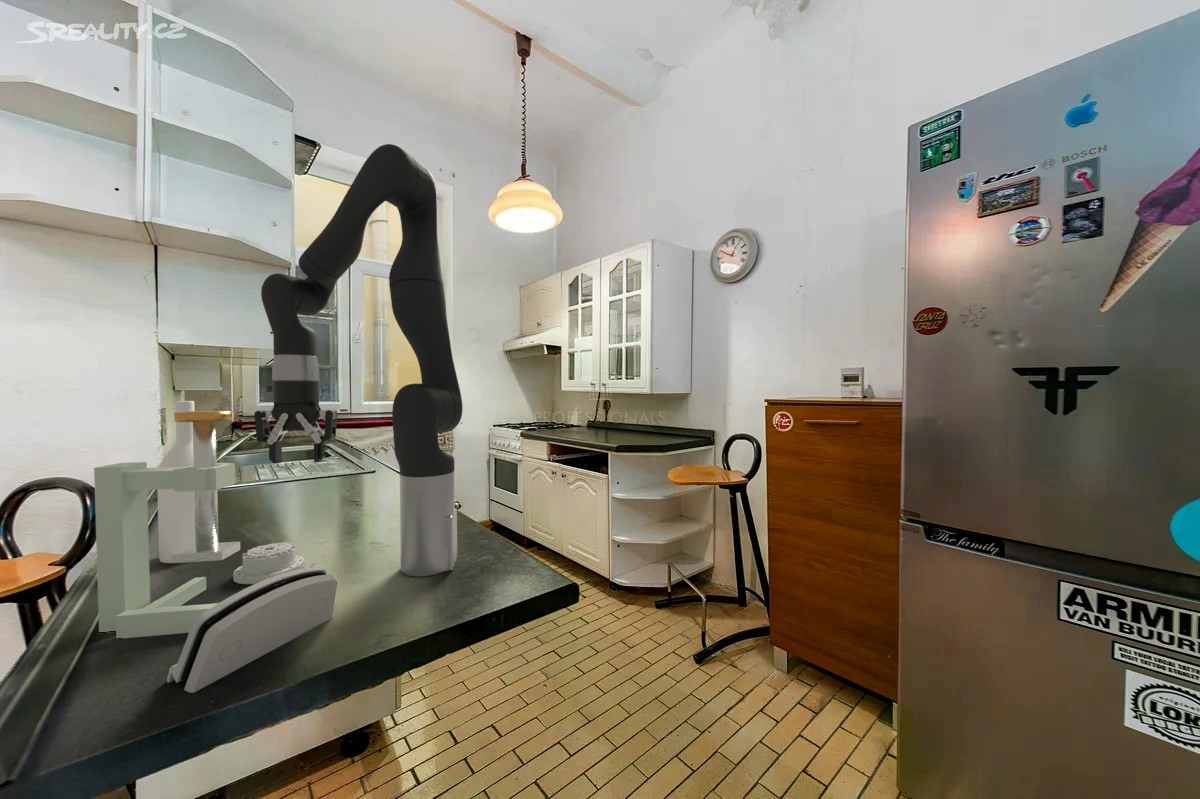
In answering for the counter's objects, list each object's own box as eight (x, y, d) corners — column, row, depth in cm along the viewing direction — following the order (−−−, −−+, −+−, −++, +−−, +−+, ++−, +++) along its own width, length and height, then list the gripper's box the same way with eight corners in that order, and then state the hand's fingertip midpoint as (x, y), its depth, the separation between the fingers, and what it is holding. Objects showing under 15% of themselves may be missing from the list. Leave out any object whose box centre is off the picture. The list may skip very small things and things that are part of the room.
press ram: (244, 547, 65) (241, 410, 65) (217, 562, 59) (213, 412, 59) (198, 549, 64) (195, 410, 64) (165, 566, 58) (161, 413, 58)
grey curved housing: (308, 610, 64) (324, 549, 62) (331, 627, 62) (348, 565, 61) (162, 683, 48) (178, 604, 47) (187, 707, 47) (205, 626, 45)
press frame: (305, 582, 73) (303, 451, 73) (255, 626, 59) (252, 465, 59) (170, 591, 70) (166, 454, 69) (84, 641, 56) (79, 470, 55)
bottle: (147, 561, 82) (143, 401, 81) (195, 546, 90) (192, 400, 89) (180, 565, 80) (176, 401, 79) (227, 549, 88) (223, 400, 87)
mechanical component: (217, 583, 73) (266, 588, 71) (217, 557, 73) (266, 562, 71) (273, 560, 83) (317, 564, 81) (272, 537, 83) (317, 541, 81)
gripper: (343, 379, 92) (344, 458, 92) (266, 379, 89) (267, 460, 89) (327, 378, 84) (329, 464, 85) (243, 378, 82) (245, 467, 82)
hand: (297, 462), depth 87 cm, fingers open, 7 cm apart
